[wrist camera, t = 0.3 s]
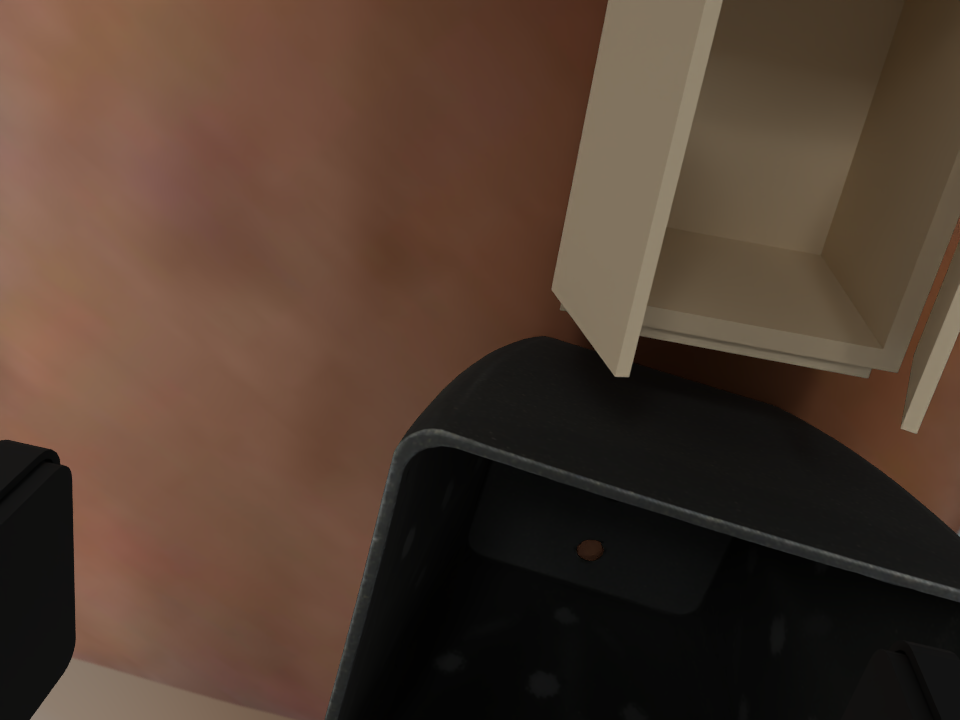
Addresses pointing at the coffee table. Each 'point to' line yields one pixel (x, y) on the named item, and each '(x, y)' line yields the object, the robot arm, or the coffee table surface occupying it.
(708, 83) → the shipping box
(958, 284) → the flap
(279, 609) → the coffee table surface
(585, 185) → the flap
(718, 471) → the flower pot
